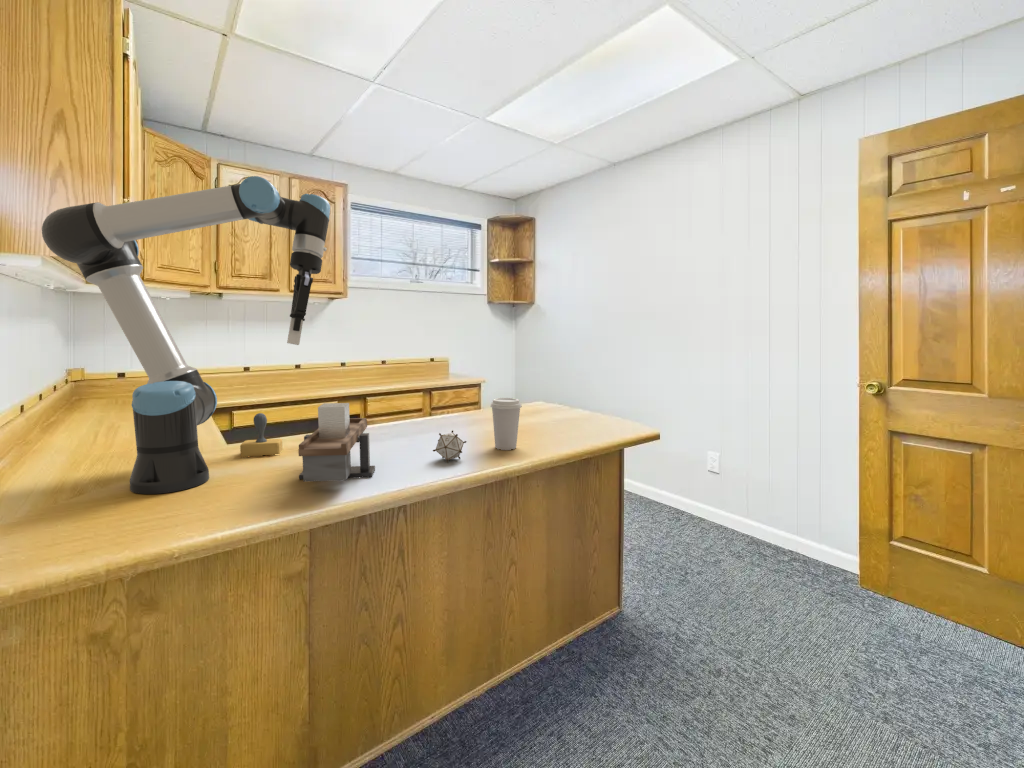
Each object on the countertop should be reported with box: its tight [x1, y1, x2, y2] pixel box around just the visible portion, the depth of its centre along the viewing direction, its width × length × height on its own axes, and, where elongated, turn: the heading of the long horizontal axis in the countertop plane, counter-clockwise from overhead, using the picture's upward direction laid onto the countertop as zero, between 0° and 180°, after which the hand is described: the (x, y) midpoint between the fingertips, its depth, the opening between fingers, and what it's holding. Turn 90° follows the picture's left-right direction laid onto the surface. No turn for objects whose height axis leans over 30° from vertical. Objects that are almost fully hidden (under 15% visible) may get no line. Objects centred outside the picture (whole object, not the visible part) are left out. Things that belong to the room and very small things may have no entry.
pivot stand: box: [298, 432, 376, 480], centre depth 120 cm, size 6×17×10 cm, turn 98°
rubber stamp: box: [239, 412, 284, 458], centre depth 139 cm, size 10×6×12 cm, turn 106°
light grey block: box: [317, 402, 350, 439], centre depth 117 cm, size 6×6×8 cm
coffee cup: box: [490, 397, 522, 451], centre depth 148 cm, size 10×10×15 cm
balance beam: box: [297, 417, 368, 483], centre depth 120 cm, size 30×10×8 cm, turn 8°
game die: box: [432, 429, 467, 464], centre depth 135 cm, size 9×8×10 cm
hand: (293, 343), depth 124 cm, fingers closed
